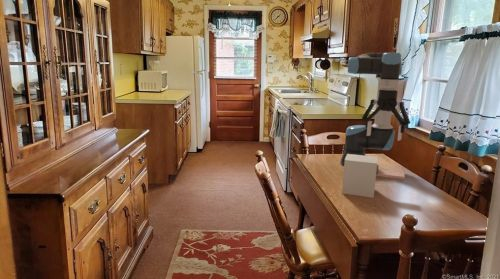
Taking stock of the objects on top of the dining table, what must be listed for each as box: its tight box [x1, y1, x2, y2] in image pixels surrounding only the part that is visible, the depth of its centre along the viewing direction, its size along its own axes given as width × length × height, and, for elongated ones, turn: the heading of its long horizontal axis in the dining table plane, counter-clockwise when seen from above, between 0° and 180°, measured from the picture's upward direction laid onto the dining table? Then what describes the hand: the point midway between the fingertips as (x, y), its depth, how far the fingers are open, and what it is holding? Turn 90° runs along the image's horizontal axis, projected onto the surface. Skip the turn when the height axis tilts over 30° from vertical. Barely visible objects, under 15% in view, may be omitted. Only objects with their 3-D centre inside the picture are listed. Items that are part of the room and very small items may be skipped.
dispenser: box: [341, 154, 379, 198], centre depth 172 cm, size 12×15×16 cm
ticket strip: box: [376, 169, 406, 180], centre depth 170 cm, size 6×24×1 cm, turn 70°
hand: (383, 137), depth 164 cm, fingers open, 13 cm apart
